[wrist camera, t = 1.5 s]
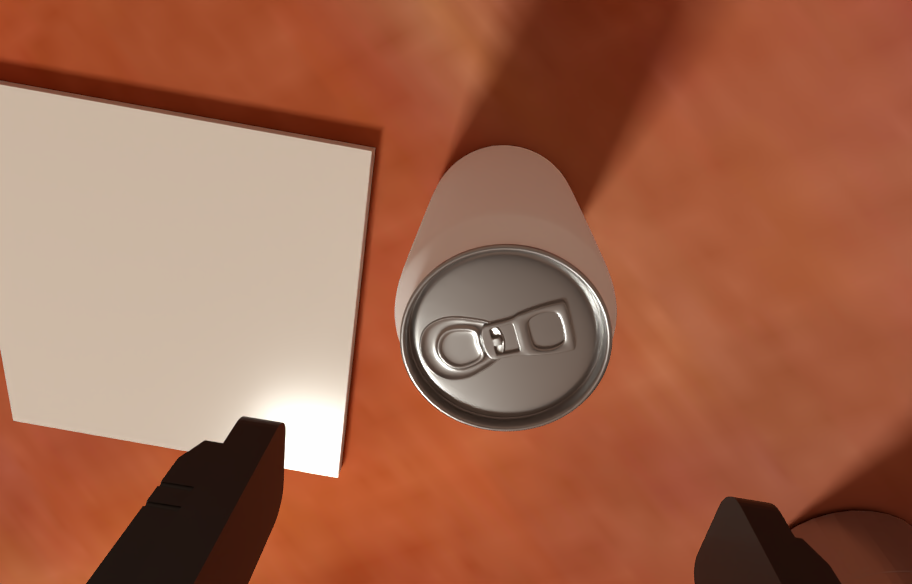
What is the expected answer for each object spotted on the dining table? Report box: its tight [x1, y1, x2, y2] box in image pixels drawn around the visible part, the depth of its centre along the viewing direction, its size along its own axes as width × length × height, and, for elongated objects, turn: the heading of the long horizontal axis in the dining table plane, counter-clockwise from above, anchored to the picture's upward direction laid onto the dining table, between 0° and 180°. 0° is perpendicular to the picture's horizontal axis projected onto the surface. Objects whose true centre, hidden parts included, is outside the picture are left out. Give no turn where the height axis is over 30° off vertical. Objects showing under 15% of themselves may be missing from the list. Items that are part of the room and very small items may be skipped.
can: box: [395, 145, 617, 431], centre depth 21 cm, size 6×6×12 cm
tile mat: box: [0, 80, 375, 478], centre depth 29 cm, size 18×18×1 cm
